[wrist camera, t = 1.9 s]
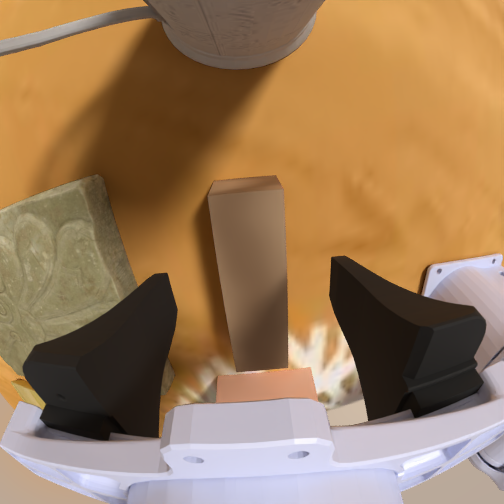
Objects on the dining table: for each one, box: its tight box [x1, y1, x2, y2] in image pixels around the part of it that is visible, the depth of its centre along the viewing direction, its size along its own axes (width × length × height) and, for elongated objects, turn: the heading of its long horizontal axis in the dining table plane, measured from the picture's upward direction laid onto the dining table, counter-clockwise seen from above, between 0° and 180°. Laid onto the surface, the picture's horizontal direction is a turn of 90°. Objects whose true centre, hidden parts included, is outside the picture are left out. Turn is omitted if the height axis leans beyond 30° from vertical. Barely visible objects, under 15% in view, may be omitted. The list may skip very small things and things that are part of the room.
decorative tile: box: [0, 174, 175, 395], centre depth 19 cm, size 19×20×4 cm
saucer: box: [11, 380, 46, 409], centre depth 26 cm, size 9×9×2 cm
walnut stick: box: [208, 175, 288, 372], centre depth 17 cm, size 4×12×4 cm, turn 4°
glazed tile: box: [216, 367, 318, 403], centre depth 20 cm, size 8×2×7 cm, turn 95°
